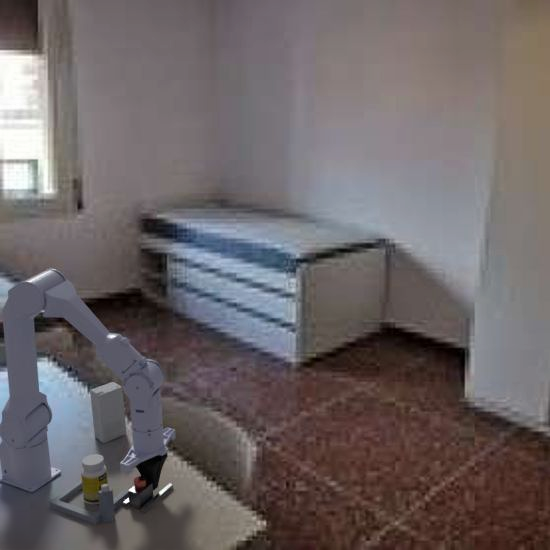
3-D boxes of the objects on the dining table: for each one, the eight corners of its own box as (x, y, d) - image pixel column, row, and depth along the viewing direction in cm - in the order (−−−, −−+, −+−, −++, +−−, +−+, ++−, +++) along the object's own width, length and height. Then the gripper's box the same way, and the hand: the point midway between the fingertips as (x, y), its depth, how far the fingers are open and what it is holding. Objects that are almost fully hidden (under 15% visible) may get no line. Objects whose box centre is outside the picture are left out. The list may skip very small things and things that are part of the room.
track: (123, 505, 128) (123, 502, 127) (152, 481, 135) (152, 477, 135) (144, 513, 125) (144, 509, 125) (173, 487, 133) (172, 484, 133)
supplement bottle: (103, 506, 127) (100, 467, 125) (79, 504, 128) (75, 465, 126) (112, 491, 132) (109, 453, 130) (89, 490, 133) (85, 452, 130)
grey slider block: (129, 506, 127) (127, 483, 126) (142, 495, 131) (141, 472, 129) (140, 510, 126) (138, 486, 125) (153, 498, 130) (151, 475, 128)
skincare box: (117, 428, 156) (113, 380, 153) (127, 435, 153) (123, 386, 149) (93, 437, 152) (88, 388, 149) (103, 444, 149) (98, 395, 145)
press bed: (49, 507, 127) (45, 474, 125) (87, 479, 136) (84, 448, 134) (103, 527, 121) (100, 493, 119) (139, 497, 130) (137, 465, 128)
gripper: (140, 447, 119) (144, 513, 123) (186, 412, 131) (189, 473, 135) (108, 438, 122) (114, 503, 126) (157, 405, 134) (161, 465, 138)
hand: (151, 487), depth 131 cm, fingers closed
